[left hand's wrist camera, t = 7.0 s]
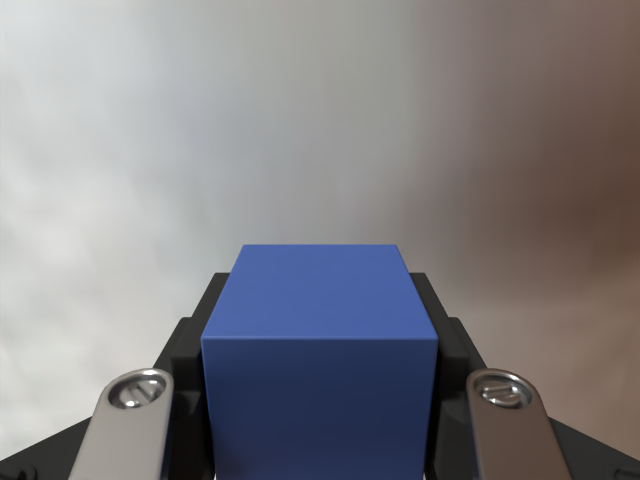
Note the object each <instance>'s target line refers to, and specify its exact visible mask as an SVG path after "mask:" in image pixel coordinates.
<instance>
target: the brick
mask: <svg viewBox="0 0 640 480" xmlns="http://www.w3.org/2000/svg"><path fill="white" fill-rule="evenodd" d="M200 339H201V347H202V356H203V365H204V374H205V383H206V392H207V401H208V410H209V419H210V428H211V436H212V445H213V454H214V463H215V472H216V480H423V475H424V466H425V457H426V448H427V439H428V430H429V421H430V412H431V403H432V394H433V385H434V376H435V367H436V358H437V349H438V340H439V338H438V335H437V333H436V331H435V329H434V327H433V324H432V322H431V320H430V318H429V316H428V314H427V311H426V309H425V307H424V305H423V303H422V300H421V298H420V296H419V294H418V292H417V289H416V287H415V285H414V283H413V281H412V279H411V276H410V274H409V272H408V270H407V268H406V265H405V263H404V261H403V259H402V257H401V255H400V252H399V250H398V248H397V246H396V245H243V247H242V249H241V251H240V253H239V256H238V258H237V260H236V262H235V264H234V266H233V269H232V271H231V273H230V275H229V277H228V279H227V282H226V284H225V286H224V288H223V290H222V292H221V295H220V297H219V299H218V301H217V303H216V305H215V308H214V310H213V312H212V314H211V316H210V318H209V321H208V323H207V325H206V327H205V329H204V331H203V334H202V336H201V338H200Z"/></svg>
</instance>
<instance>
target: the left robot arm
mask: <svg viewBox="0 0 640 480" xmlns="http://www.w3.org/2000/svg"><path fill="white" fill-rule="evenodd" d="M409 274H410V276H411V279H412V281H413V283H414V285H415V287H416V289H417V292H418V294H419V296H420V298H421V300H422V303H423V305H424V307H425V309H426V311H427V314H428V316H429V318H430V320H431V322H432V324H433V327H434V329H435V331H436V333H437V335H438V338H439V340H438V349H437V358H436V367H435V376H434V385H433V394H432V403H431V412H430V421H429V430H428V439H427V448H426V457H425V466H424V474H425V478H426V480H640V461H638V460H636V459H634V458H632V457H630V456H628V455H626V454H624V453H622V452H620V451H618V450H616V449H614V448H612V447H610V446H608V445H606V444H604V443H602V442H599V441H597V440H595V439H593V438H591V437H589V436H587V435H585V434H583V433H581V432H579V431H577V430H575V429H573V428H571V427H569V426H567V425H565V424H563V423H561V422H559V421H557V420H555V419H553V418H550V417H548V416H547V413H546V410H545V408H544V405H543V402H542V400H541V397H540V395H539V393H538V391H537V390H536V388H535V387H534V386H533V385H532V384H531V383H530V382H529V381H527V380H526V379H524V378H522V377H521V376H519V375H517V374H514V373H512V372H509V371H506V370H501V369H495V368H487V366H486V365H485V363H484V361H483V359H482V358H481V356H480V354H479V353H478V351H477V349H476V347H475V346H474V344H473V342H472V340H471V339H470V337H469V335H468V333H467V332H466V330H465V328H464V327H463V325H462V323H461V321H460V320H459V319H458V318H456V317H448V315H447V314H446V312H445V310H444V308H443V306H442V304H441V302H440V301H439V299H438V297H437V295H436V293H435V291H434V289H433V287H432V286H431V284H430V282H429V280H428V278H427V276H426V274H425V273H409ZM229 275H230V273H215V274H214V276H213V278H212V280H211V281H210V283H209V285H208V287H207V289H206V291H205V293H204V294H203V296H202V298H201V300H200V302H199V304H198V306H197V308H196V309H195V311H194V313H193V315H192V317H184V318H181V320H180V321H179V323H178V324H177V326H176V328H175V330H174V331H173V333H172V335H171V337H170V338H169V340H168V342H167V343H166V345H165V347H164V349H163V350H162V352H161V354H160V356H159V357H158V359H157V361H156V363H155V364H154V366H153V368H145V369H139V370H134V371H131V372H128V373H126V374H123V375H121V376H119V377H118V378H116V379H114V380H113V381H111V382H110V383H109V384H108V385H107V386H106V387H105V388H104V390H103V391H102V393H101V395H100V397H99V400H98V402H97V405H96V408H95V410H94V413H93V416H91V417H89V418H87V419H85V420H83V421H81V422H79V423H77V424H75V425H73V426H71V427H69V428H67V429H65V430H63V431H61V432H59V433H57V434H55V435H53V436H51V437H48V438H46V439H44V440H42V441H40V442H38V443H36V444H34V445H32V446H30V447H28V448H26V449H24V450H22V451H20V452H18V453H16V454H14V455H12V456H10V457H8V458H6V459H4V460H2V461H0V480H214V477H215V473H216V472H215V463H214V454H213V445H212V436H211V428H210V419H209V410H208V401H207V392H206V383H205V374H204V365H203V356H202V347H201V339H200V338H201V336H202V334H203V331H204V329H205V327H206V325H207V323H208V321H209V318H210V316H211V314H212V312H213V310H214V308H215V305H216V303H217V301H218V299H219V297H220V295H221V292H222V290H223V288H224V286H225V284H226V282H227V279H228V277H229Z"/></svg>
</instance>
